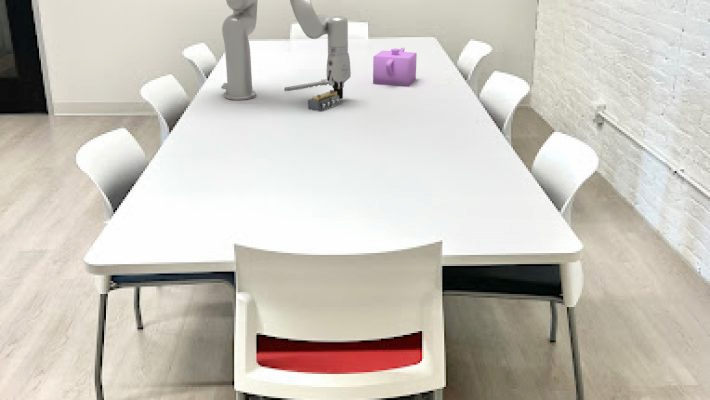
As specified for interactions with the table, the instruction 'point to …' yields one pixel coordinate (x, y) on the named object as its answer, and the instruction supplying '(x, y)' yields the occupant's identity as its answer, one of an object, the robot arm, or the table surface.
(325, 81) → the adjustable wrench
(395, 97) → the table surface
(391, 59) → the teapot
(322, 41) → the table surface
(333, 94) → the master link
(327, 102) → the chain end dark
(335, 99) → the chain end grey
